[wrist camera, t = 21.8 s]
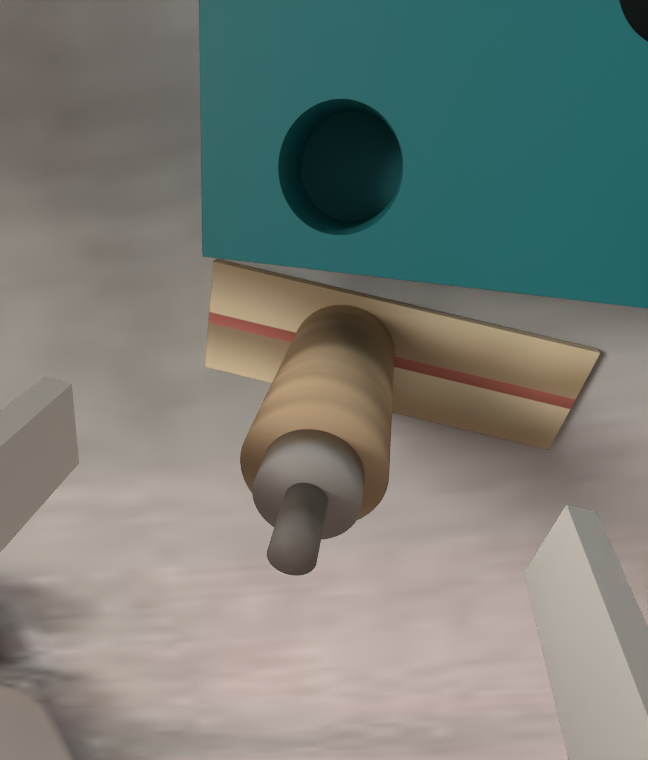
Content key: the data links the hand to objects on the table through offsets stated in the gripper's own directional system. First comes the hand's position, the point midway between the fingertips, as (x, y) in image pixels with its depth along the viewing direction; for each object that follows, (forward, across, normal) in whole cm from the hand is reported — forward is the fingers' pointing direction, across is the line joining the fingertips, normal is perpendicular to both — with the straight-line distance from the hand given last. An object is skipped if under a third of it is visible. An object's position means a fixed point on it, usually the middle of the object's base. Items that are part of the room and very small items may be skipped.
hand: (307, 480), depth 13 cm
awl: (+9, 0, -1) cm, 9 cm away
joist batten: (+10, +2, -1) cm, 10 cm away
